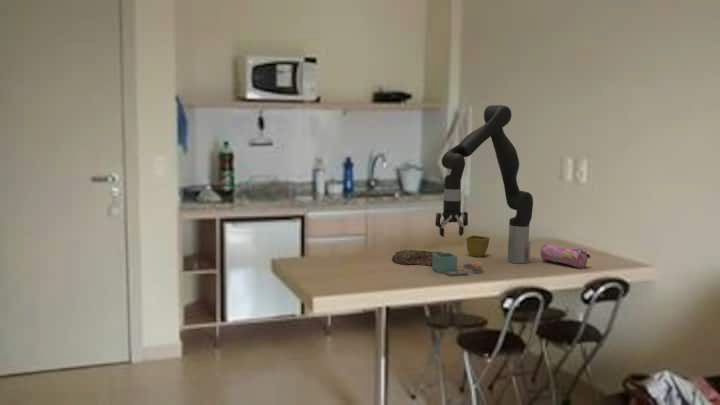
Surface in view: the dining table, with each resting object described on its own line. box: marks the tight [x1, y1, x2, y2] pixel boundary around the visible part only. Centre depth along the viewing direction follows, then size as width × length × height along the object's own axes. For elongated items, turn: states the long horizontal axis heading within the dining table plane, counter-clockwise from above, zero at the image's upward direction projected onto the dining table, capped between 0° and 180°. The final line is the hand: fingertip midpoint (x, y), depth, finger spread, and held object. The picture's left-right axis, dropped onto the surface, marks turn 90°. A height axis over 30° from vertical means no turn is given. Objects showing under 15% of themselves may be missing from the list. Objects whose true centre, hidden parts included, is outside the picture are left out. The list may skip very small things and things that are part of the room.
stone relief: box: [391, 249, 443, 268], centre depth 341 cm, size 26×4×30 cm
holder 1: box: [462, 263, 474, 270], centre depth 327 cm, size 4×4×1 cm
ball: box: [472, 261, 483, 270], centre depth 318 cm, size 4×4×4 cm
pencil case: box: [539, 242, 591, 270], centre depth 336 cm, size 21×9×9 cm, turn 42°
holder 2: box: [471, 269, 484, 274], centre depth 318 cm, size 4×4×1 cm
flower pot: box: [465, 234, 491, 258], centre depth 352 cm, size 9×9×9 cm
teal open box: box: [431, 252, 458, 274], centre depth 320 cm, size 8×8×7 cm
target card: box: [444, 270, 469, 277], centre depth 314 cm, size 9×5×1 cm, turn 106°
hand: (451, 235), depth 318 cm, fingers open, 8 cm apart
